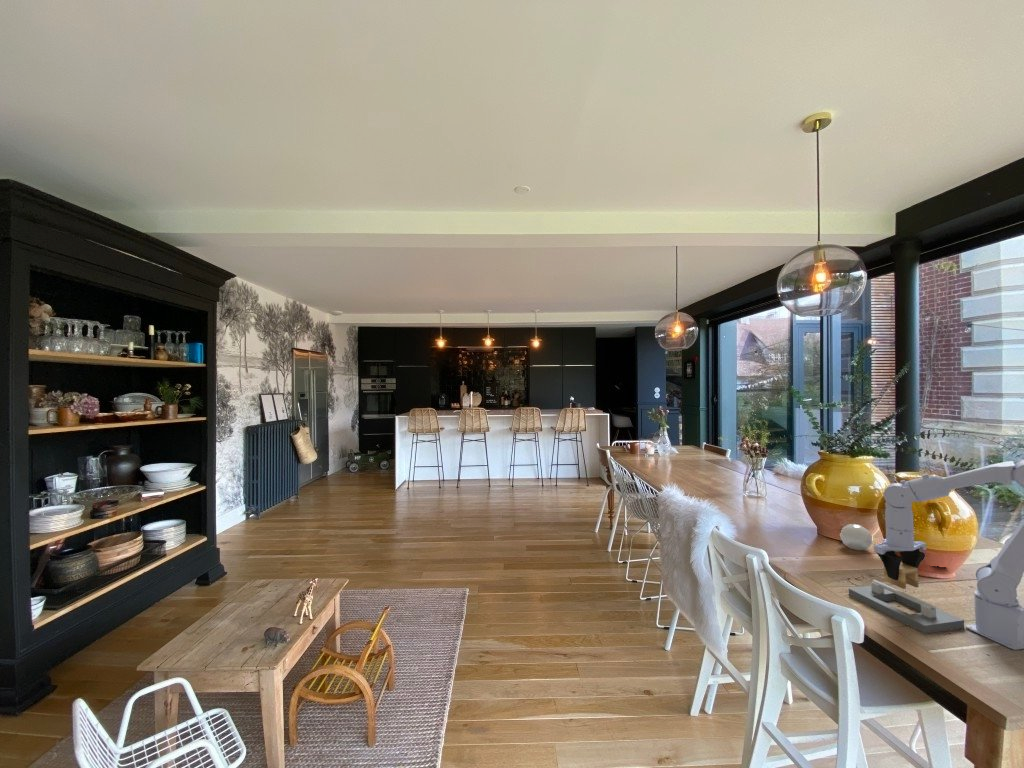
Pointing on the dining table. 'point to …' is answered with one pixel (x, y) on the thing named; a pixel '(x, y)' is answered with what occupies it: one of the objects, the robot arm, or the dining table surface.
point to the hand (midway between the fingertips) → (901, 577)
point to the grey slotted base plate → (924, 621)
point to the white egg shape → (856, 537)
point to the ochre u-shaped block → (904, 576)
